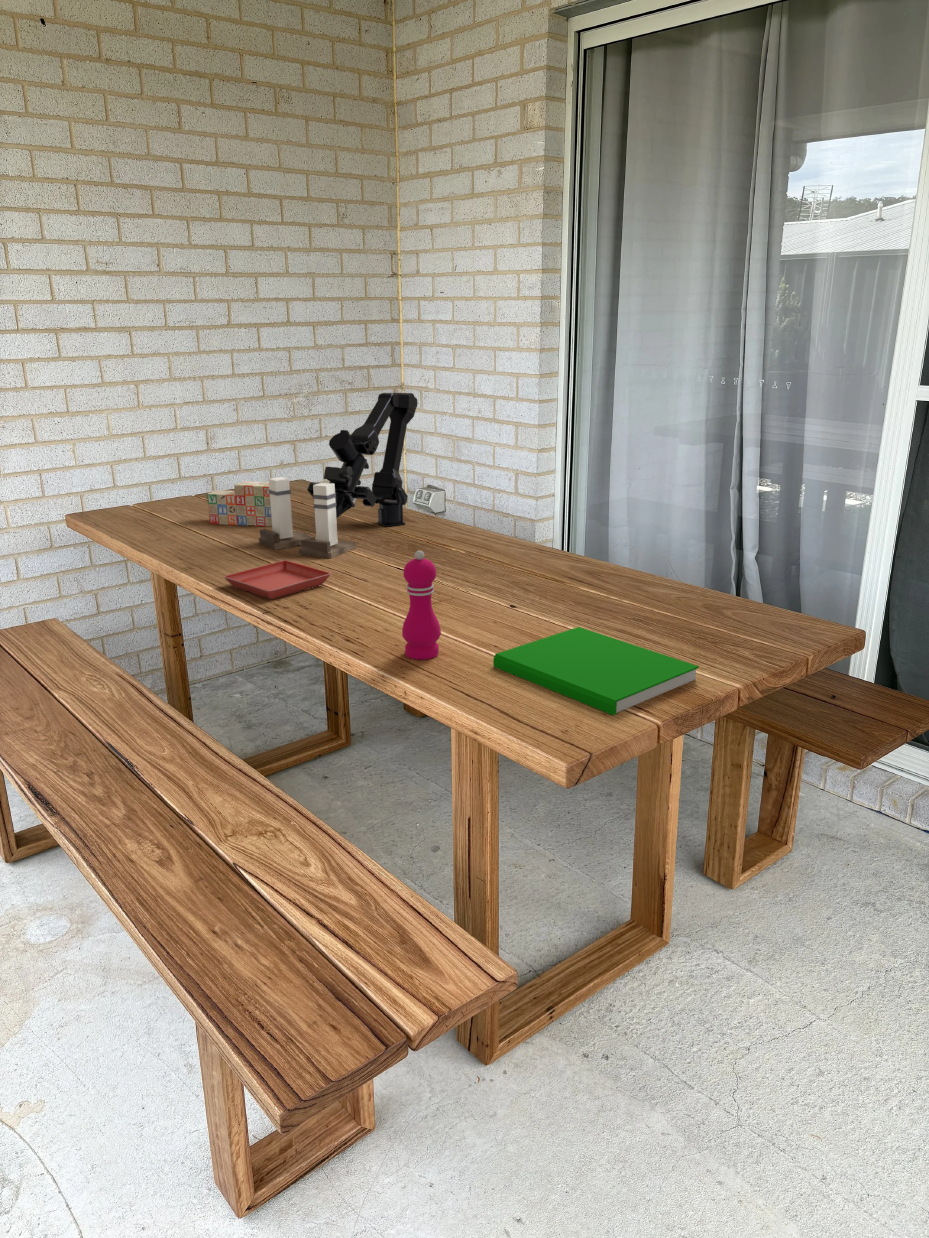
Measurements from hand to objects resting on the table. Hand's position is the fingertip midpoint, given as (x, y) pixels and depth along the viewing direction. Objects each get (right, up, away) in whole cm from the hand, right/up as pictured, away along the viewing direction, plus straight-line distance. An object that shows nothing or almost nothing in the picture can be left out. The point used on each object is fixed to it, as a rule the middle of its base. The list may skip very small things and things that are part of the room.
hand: (330, 520), depth 248 cm
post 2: (-1, -6, 0) cm, 6 cm away
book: (+58, -37, -82) cm, 107 cm away
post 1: (-14, -4, +8) cm, 17 cm away
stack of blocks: (-30, +2, +34) cm, 45 cm away
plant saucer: (-8, -19, -30) cm, 36 cm away
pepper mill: (+28, -33, -73) cm, 84 cm away
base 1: (-13, -5, +10) cm, 17 cm away
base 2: (-1, -8, 0) cm, 8 cm away
